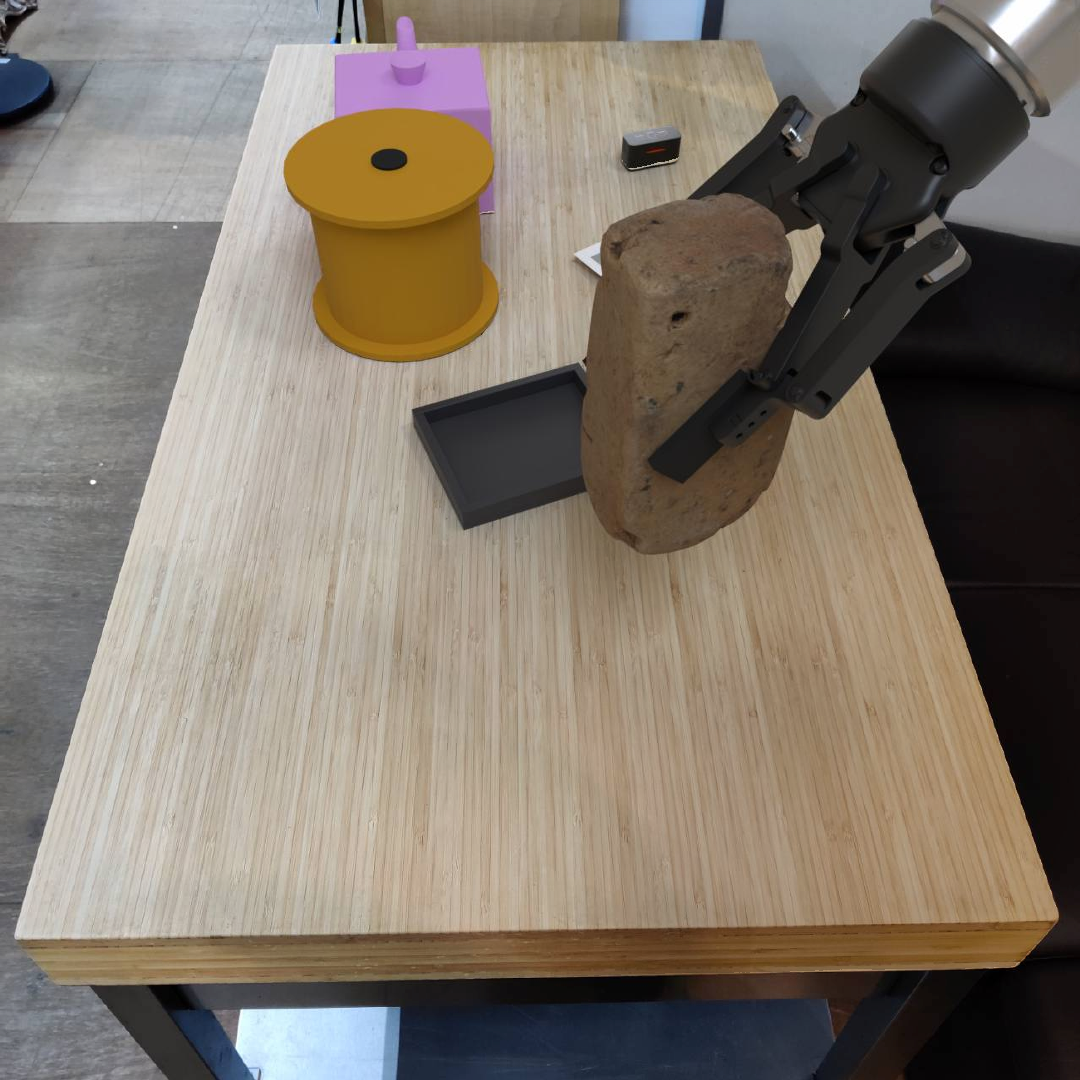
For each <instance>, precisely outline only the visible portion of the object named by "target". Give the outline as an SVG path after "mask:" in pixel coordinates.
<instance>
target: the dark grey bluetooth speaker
mask: <svg viewBox="0 0 1080 1080" xmlns="http://www.w3.org/2000/svg"><path fill="white" fill-rule="evenodd" d="M621 142H622V143H621V153H620V154H621V155H620V160H621V159H622V160H623V162H624V163H625V164H626V166H627V167H628V168H637V167H642V166H647V165H651V164H654V163H657V162H665V161H669V160H672V159H676V158H678V157H679V158H680V153H681V152H680V151H681V150H680V149H681V144H682V143H681V142H682V133H681V132H680V131H679V130H678V128H676V126H674V125H664V126H659V127H652V128H649V129H648V128H646V129H641V130H636V131H631V132H626V133H625V132H624V133H623V135H622V141H621ZM622 160H621V161H622ZM623 162H622V163H623ZM624 163H623V164H624ZM626 166H625V167H626ZM627 167H626V168H627Z"/></svg>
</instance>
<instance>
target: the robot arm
mask: <svg viewBox="0 0 1080 1080" xmlns="http://www.w3.org/2000/svg"><path fill="white" fill-rule="evenodd" d="M930 12H931V17H927V16H920V17H919V18H912V19H911V20H910V21H909V22H908V23H907V24H906V25H905V26H904V27H903V28H902V29H901V30H900V31H899V32H898V34H897V35H896V36H895V37H894V38H893V39H892V40H891V41H890V42H889V43H888V44H887V45H886V46H885V48H883V50H881V52H880V53H879V54H878V55H877V56H876V57H875V58H874V59H873V60H872V61H871V62H870V63H869V64H868V66H867V67H866V68H864V69H863V71H862V73H861V75H860V77H859V85H858V89H857V92H856V94H855V96H853V98H852V99H851V100H850V101H849V102H848V103H846V104H845V105H843V106H841V107H840V108H838V109H837V110H835V111H833V112H831V113H829V114H828V115H827V116H824V115H821V114H819V113H818V112H815V111H812V110H810V109H809V108H808V107H807V106H806V105H805V104H804V103H803V102H802V100H801V99H800V98H799V97H798V96H797V95H794V94H791V95H788V96H786V97H784V98H783V99H782V101H780V103H779V104H778V106H777V107H776V109H775V110H774V111H773V113H772V114H771V115H770V117H769V118H768V120H766V123H765V124H764V126H763V127H762V129H761V130H760V131H759V133H757V134H756V135H755V136H754V137H753V138H752V139H750V141H748V142H747V143H746V144H745V145H744V146H742V148H741V149H740V150H738V151H737V152H736V153H735V154H734V155H733V156H732V157H731V158H730V159H729V160H728V161H726V162H724V164H723V165H722V166H721V167H720V168H719V169H717V170H716V171H715V172H714V173H713V174H712V175H711V176H710V177H709V178H708V179H706V181H704V182H703V183H702V184H701V185H700V186H699V187H698V188H696V189H695V190H694V191H693V192H692V193H691V194H690V195H689V196H688V197H687V198H686V199H689V200H700V199H702V198H704V197H707V196H709V195H719V194H722V193H732V194H740V195H742V196H744V197H746V198H750V199H752V200H753V201H755V202H757V203H759V204H760V205H762V206H764V207H766V208H767V209H768V210H769V211H771V212H772V213H774V214H775V215H777V216H778V218H779V219H780V221H781V222H782V224H783V225H784V229H785V235H786V236H787V235H789V234H790V233H792V232H795V231H798V230H799V231H805V230H809V229H811V228H813V227H815V226H818V225H819V226H820V227H821V228H822V229H824V231H826V232H825V233H824V236H823V238H822V240H821V243H820V245H819V253H820V256H819V258H818V260H817V262H816V264H815V265H814V267H813V269H812V272H811V273H810V275H809V277H808V278H807V280H806V282H805V284H804V285H803V288H802V289H801V291H800V292H799V295H798V297H797V299H796V300H795V302H794V304H793V305H792V309H791V311H790V313H789V315H788V316H787V319H786V321H785V324H784V326H783V328H782V329H781V330H780V331H779V333H778V335H777V336H776V338H775V340H774V342H773V344H772V346H771V347H770V349H769V351H768V353H767V355H766V356H765V358H764V360H763V362H762V364H761V365H760V367H759V369H758V371H756V370H754V369H753V370H752V369H751V368H748V370H747V373H745V372H744V371H743V370H741V369H739V370H738V371H737V372H736V373H735V374H734V375H733V376H732V377H731V378H730V379H729V380H728V381H727V382H726V383H725V384H724V385H723V386H722V387H721V388H720V389H719V390H718V391H717V392H716V393H715V394H714V395H713V396H712V397H711V398H710V399H709V400H708V401H707V402H706V403H705V404H704V405H703V406H702V407H701V408H700V409H698V410H697V411H696V412H695V413H694V414H693V415H692V416H691V417H690V418H689V419H688V420H687V421H686V422H685V423H684V424H683V425H682V426H681V427H680V428H679V429H678V430H677V431H676V432H675V433H674V434H673V435H672V436H671V437H670V438H669V439H668V440H667V441H666V442H665V443H664V444H663V445H662V446H661V447H660V448H659V449H658V450H657V451H656V452H655V453H654V454H652V455H651V456H650V457H649V458H648V459H647V461H648V462H649V464H650V465H651V467H652V468H653V470H655V471H657V472H659V473H661V474H663V475H665V476H667V477H669V478H671V479H673V480H675V481H677V482H679V483H681V484H683V483H684V482H686V481H687V480H688V479H689V478H690V477H691V476H692V475H693V474H694V473H695V472H696V471H697V470H698V469H699V468H700V467H701V466H702V465H704V464H705V463H706V462H707V461H708V460H709V459H710V458H711V457H712V456H713V455H714V454H715V453H716V452H717V451H718V450H719V449H720V448H721V447H723V446H724V445H726V446H728V447H730V448H731V449H733V448H736V447H738V446H740V445H742V444H743V443H744V442H745V441H746V440H747V439H748V438H749V437H750V436H751V435H753V434H754V433H755V431H756V430H758V429H759V428H760V427H761V426H762V425H763V424H764V423H765V422H766V421H768V420H769V419H770V418H771V417H772V416H773V415H774V414H775V413H776V412H777V411H779V410H780V409H782V408H786V407H789V408H793V409H795V411H797V412H800V413H802V414H804V415H805V416H808V417H809V418H810V419H812V420H815V421H819V420H822V419H824V418H825V417H827V416H828V415H829V414H830V413H831V412H832V410H833V409H834V408H835V407H836V406H837V405H838V404H839V402H840V401H841V400H842V399H843V398H844V396H845V395H846V394H847V393H848V392H849V391H850V389H851V388H852V387H853V386H854V385H855V384H856V383H857V382H858V380H859V379H860V378H861V377H862V376H863V375H864V373H865V372H866V371H867V370H868V369H869V367H870V366H871V365H872V364H873V363H874V362H875V361H876V360H877V359H878V357H879V356H880V355H881V354H882V353H883V351H885V350H886V348H887V347H888V346H889V345H890V344H891V342H892V341H893V340H894V339H895V338H896V336H897V335H898V334H899V333H900V332H901V331H902V330H903V328H904V327H906V325H907V324H908V323H909V322H910V320H911V319H912V318H913V317H914V316H915V314H917V312H918V311H919V310H920V309H921V308H922V307H923V306H924V304H925V303H926V302H927V301H928V300H929V298H931V297H932V296H933V295H935V294H937V293H938V292H939V291H941V290H942V289H944V288H945V287H947V286H948V285H950V284H951V283H953V282H955V281H956V280H958V279H959V278H961V277H962V276H964V275H965V274H966V273H967V272H968V271H969V270H970V268H971V266H972V257H971V256H970V255H969V253H968V252H967V250H966V249H965V248H964V246H963V245H962V244H961V242H960V241H959V240H958V239H957V237H956V236H955V235H954V234H953V232H952V231H951V230H950V229H948V228H947V227H946V225H945V224H944V222H943V221H944V219H945V217H946V215H947V213H948V210H949V208H950V206H951V205H952V203H953V201H954V200H955V199H956V197H957V196H958V195H959V194H960V193H962V192H963V191H968V190H971V189H974V188H975V187H977V186H979V184H981V182H983V181H984V180H985V179H986V178H987V177H988V176H989V175H990V174H991V173H992V172H993V171H994V170H995V169H996V168H997V167H998V166H1000V164H1001V163H1003V161H1004V160H1005V159H1006V158H1007V157H1009V156H1010V155H1011V154H1012V153H1013V152H1014V151H1015V150H1016V149H1017V148H1018V147H1020V145H1021V144H1022V143H1024V142H1025V141H1026V140H1027V138H1028V137H1029V131H1030V129H1031V121H1030V118H1029V117H1035V118H1046V117H1049V116H1051V115H1052V114H1053V113H1054V112H1055V111H1056V110H1057V109H1058V108H1059V107H1060V106H1061V105H1062V104H1063V103H1064V102H1065V101H1066V100H1068V99H1069V97H1071V95H1073V94H1074V93H1075V92H1076V91H1077V90H1078V89H1079V88H1080V0H930ZM802 158H803V159H802ZM801 159H802V160H801ZM902 241H904V243H903V251H902V253H901V254H899V255H898V256H897V257H896V258H895V259H893V260H892V261H891V263H889V265H888V266H886V268H885V269H884V270H883V271H882V272H881V273H880V274H879V276H878V277H877V278H876V279H875V280H874V282H873V283H872V284H871V285H870V286H869V288H868V289H867V290H866V291H865V292H864V294H863V295H862V296H861V297H860V298H859V299H858V301H857V302H856V303H855V304H854V305H853V307H852V308H851V305H852V304H853V302H854V301H855V298H856V297H857V295H858V293H859V291H860V290H861V288H862V286H863V285H864V284H867V283H869V282H870V281H872V279H873V278H874V277H875V275H876V273H877V271H878V269H879V268H880V266H881V264H882V262H883V260H884V259H885V257H886V255H887V253H888V252H889V250H890V248H891V246H892V244H895V243H899V242H902ZM850 308H851V309H850ZM849 309H850V310H849ZM586 357H587V355H586V356H585V357H584V358H583V359H582V360H581V362H582V363H583V364H584V366H585V367H586Z"/></svg>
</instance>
